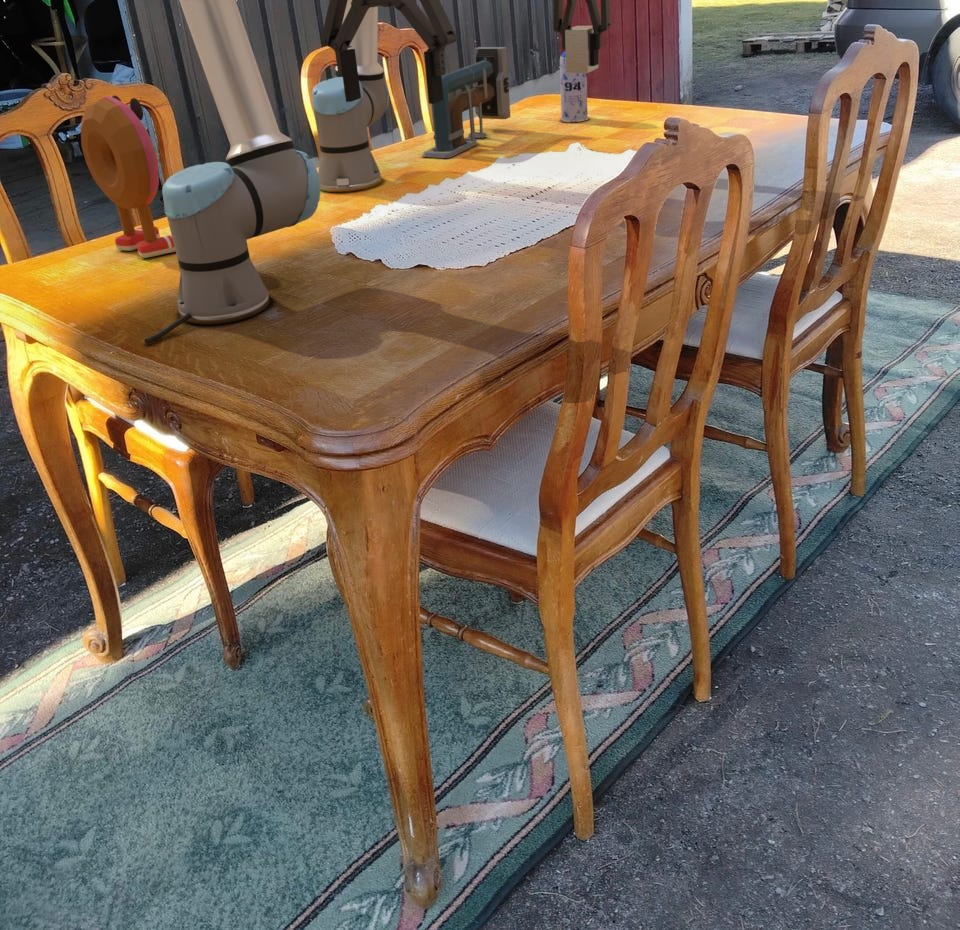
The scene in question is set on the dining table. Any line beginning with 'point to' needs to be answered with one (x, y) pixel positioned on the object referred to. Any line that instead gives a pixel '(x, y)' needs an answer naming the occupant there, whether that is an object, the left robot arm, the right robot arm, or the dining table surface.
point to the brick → (579, 49)
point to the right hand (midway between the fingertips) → (582, 64)
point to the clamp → (470, 101)
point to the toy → (125, 169)
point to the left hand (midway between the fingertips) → (394, 101)
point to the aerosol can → (572, 94)
